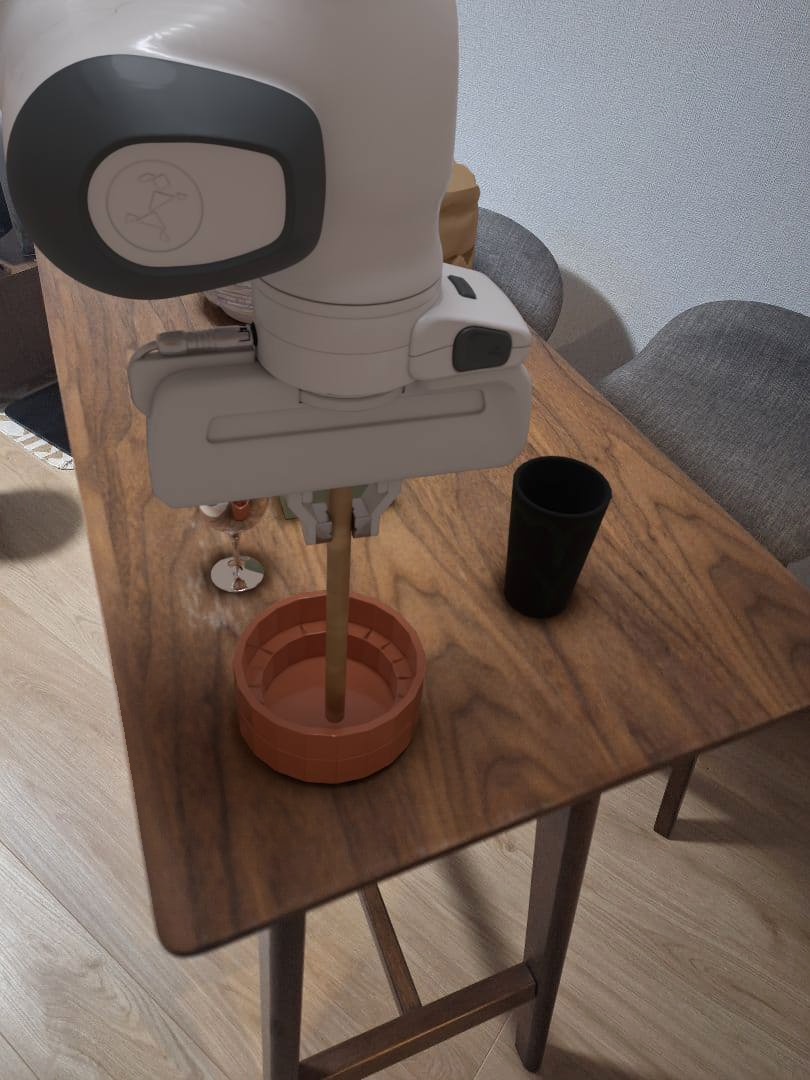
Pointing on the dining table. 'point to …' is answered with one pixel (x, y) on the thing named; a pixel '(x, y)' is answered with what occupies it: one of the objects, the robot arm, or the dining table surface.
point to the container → (459, 218)
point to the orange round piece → (299, 688)
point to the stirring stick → (337, 601)
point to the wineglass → (235, 542)
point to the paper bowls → (234, 300)
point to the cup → (551, 531)
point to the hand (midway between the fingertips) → (339, 533)
